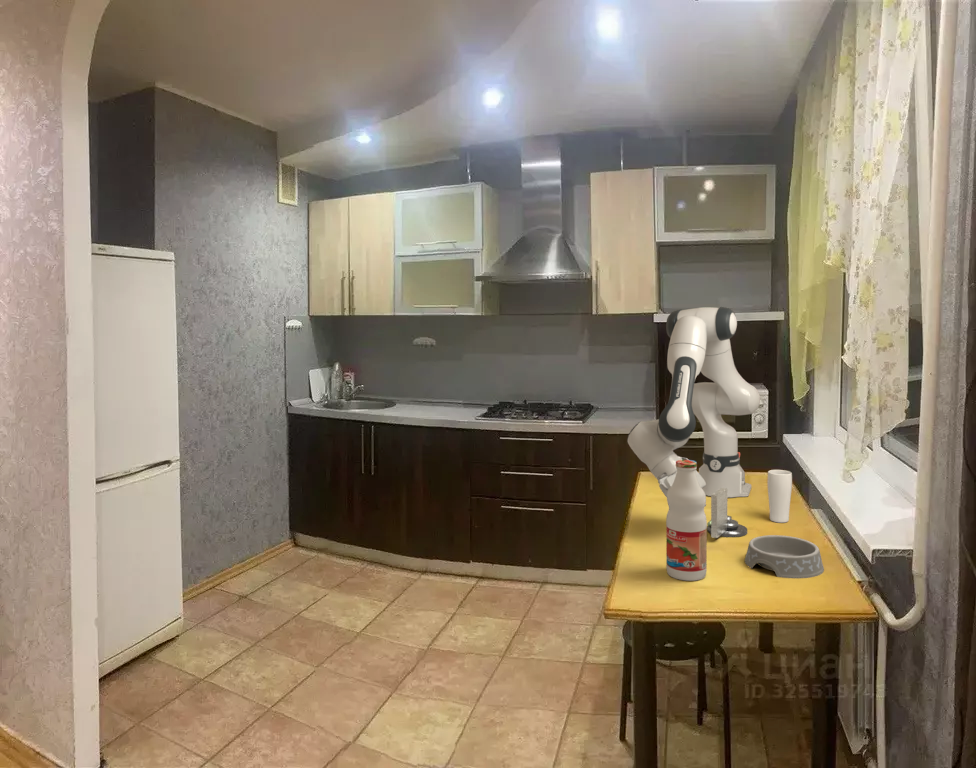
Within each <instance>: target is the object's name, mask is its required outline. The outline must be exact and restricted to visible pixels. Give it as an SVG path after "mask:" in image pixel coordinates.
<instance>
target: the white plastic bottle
mask: <svg viewBox="0 0 976 768" xmlns="http://www.w3.org/2000/svg"><path fill="white" fill-rule="evenodd" d="M697 467H698V463H697V461H696V460H692V459H688V460H678V461H676V469H677V473H676V477H675V480H674V482H673V484H672V486H671V487H670V489H669V490H668V493H667V497H666V501H667V505H668V511H667V514H666V518H665V519H666V521H665V523H666V524H665V526H666V528H665V530H666V531H665V532H666V533H665V535H666V536H665V537H666V539H665V540H666V541H665V542H666V546H665V547H666V554H665V555H666V567H665V568H666V572H667V575H668V576H669V577H671V578H673V579H676V580H680V581H687V582H689V581H691V582H692V581H695V582H696V581H700V580H702V579H705V578H706V575H707V569H708V568H707V565H708V564H707V555H708V554H707V549H708V547H707V545H708V544H707V539H708V538H707V536H708V535H707V532H708V531H707V526H708V525H707V523H708V522H707V516H706V513H705V507H706V506H705V504H706V505H707V495H705V492H704V491H703V489H702V488H701V486H700V485H699V482H698V479H697V476H696V470H697Z"/></svg>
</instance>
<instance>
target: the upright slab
mask: <svg viewBox="0 0 976 768" xmlns="http://www.w3.org/2000/svg"><path fill="white" fill-rule="evenodd" d="M710 497H711V498H710V501H711V503H710V505H711V506H710V514H711V515H710V518H711V519H710V520H711V533H710V535H711V537H710V538H714V539H718V538H719V537H721V536H720V535H721V534H723V533H724V532H725V531H726V530H735V529H738V524H739V521H737V520H735V519H733V518H732V516H731V515H728V497H727V488H721V489H719V490H718V491H716V492H715V493H713V494H712V495H711V496H710Z"/></svg>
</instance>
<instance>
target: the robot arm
mask: <svg viewBox="0 0 976 768" xmlns="http://www.w3.org/2000/svg"><path fill="white" fill-rule="evenodd" d="M665 324H666V325H665V327H666V334H667V336H668V337H669V338H670V340H669V343H668V349H667V356H666V357H667V361H666V362H667V363H666V364H667V370H668V371H669V373H670V374H671V377H672V378H671V386H670V392H669V398H668V403H667V404H666V405H665V407H664V408H663V410H662V411H661V413H660V415H659V418H658V419H654V420H650V421H642V420H641V421H639V422H638V423H636V424H635V425H634V426H633V427H632V428H631V429H630V432H629V433H628V435H627V444H628V445H629V447H630V449H631V450H632V452H633V453H634V454H635V455H636V456H637V458H638V459H639V460H640V461H641V462H642V463H643V464H645V465H646V466H647V468H648V469H649V471H650V473H651V474H652V475H653V476H654V478H655V479H656V480H657V483H658V486H659V489H660V490H661V492H662V494H664V496H665V498H667V493H668V490H669V489H670V487H671V486H672V484H673V482H674V480H675V477H676V473H677V469H676V461H678V460H689V459H688V458H687V457H682V456H679V455H677V453H675V452H674V451H675V450H678V449H679V448H681V447H683V446H685V445H686V443H688V441H689V440H690V438H691V435H693V434H694V432H695V430H696V424H697V422H696V418H697V420H698V421H699V424H700V426H701V428H702V433H703V446H704V448H703V449H704V451H703V453H702V463H703V464H702V465H701V466H700V467H699V468H698V471H697V469H696V476H697V479H698V482H699V485H700V486H701V488H702V489H703V491H704V492H705V495H706V497H707V496H708V497H711V495H712V494H713V493H715V492H716V491H718V490H719V489H721V488H727V498H738V497H744V498H745V497H749V495H750V494H751V489H752V484H751V483H748V482H746V473H745V471H744V469H743V468H742V466H741V464H740V460H741V459H740V457H741V452H739V451H738V450H739V449H738V443H739V442H738V440H739V438H738V437H739V436H738V432H737V431H736V429H735V428H734V427H733V426H731V425H730V424H728V423H726V422H725V421H724V419H723V417H722V415H725V416H726V415H727V416H730V415H731V416H746V415H753V414H754V413H755V412H757V410H758V409H759V407H760V404H761V395H760V393H759V390H758V389H757V388H756V387H755V386H754V385H751V383H749V382H747V381H746V380H745V379H744V378H743V377H742V375H741V374H740V373H739V372H738V370H737V367H736V365H735V362H734V358H733V357H734V356H733V352H732V346H731V340H730V339H731V338H733V337H734V336H735V335H736V334H735V333H736V332H737V326H738V320H737V317H736V313H735V312H734V311H733V310H732V308H729V307H724V306H723V307H722V306H720V307H712V306H711V307H709V306H708V307H707V306H706V307H705V306H704V307H703V306H702V307H701V306H700V307H696V308H689V309H677V310H674V311H671V313H670V314H669V315H668V316H667V317H666V323H665ZM700 373H701V374H702V375H703V376H704V377H706V378H707V379H709V380H711V381H713V382H706V381H704V382H697V383H695V382H696V378H697V376H699V375H700ZM705 507H707V503H706V504H705Z"/></svg>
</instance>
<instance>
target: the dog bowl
mask: <svg viewBox="0 0 976 768" xmlns="http://www.w3.org/2000/svg"><path fill="white" fill-rule="evenodd" d="M744 562H745V565H746V566H747V567H748V566H749V567H748V568H750V569H753V568H754V566H755V565H757V564H758V565H759V566H760V567H762V568H764V569H766V570H770V571H774V572H775V575H776V577H777V578H783V579H785V578H786V579H809V578H814V577H815V578H816V577H818V576H820V575H822V574H823V573H824V571H825V568H824V564H823V561H822V556H821V552H820V549H819V547H818V546H817V544H815V543H813V542H811V541H809V540H807V539H803V538H799V537H795V536H790V535H778V534H771V535H770V534H769V535H762V536H757V537H753V538H752V539H751V540H750V541H749V543H748V546H747V549H746V553H745V558H744Z"/></svg>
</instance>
